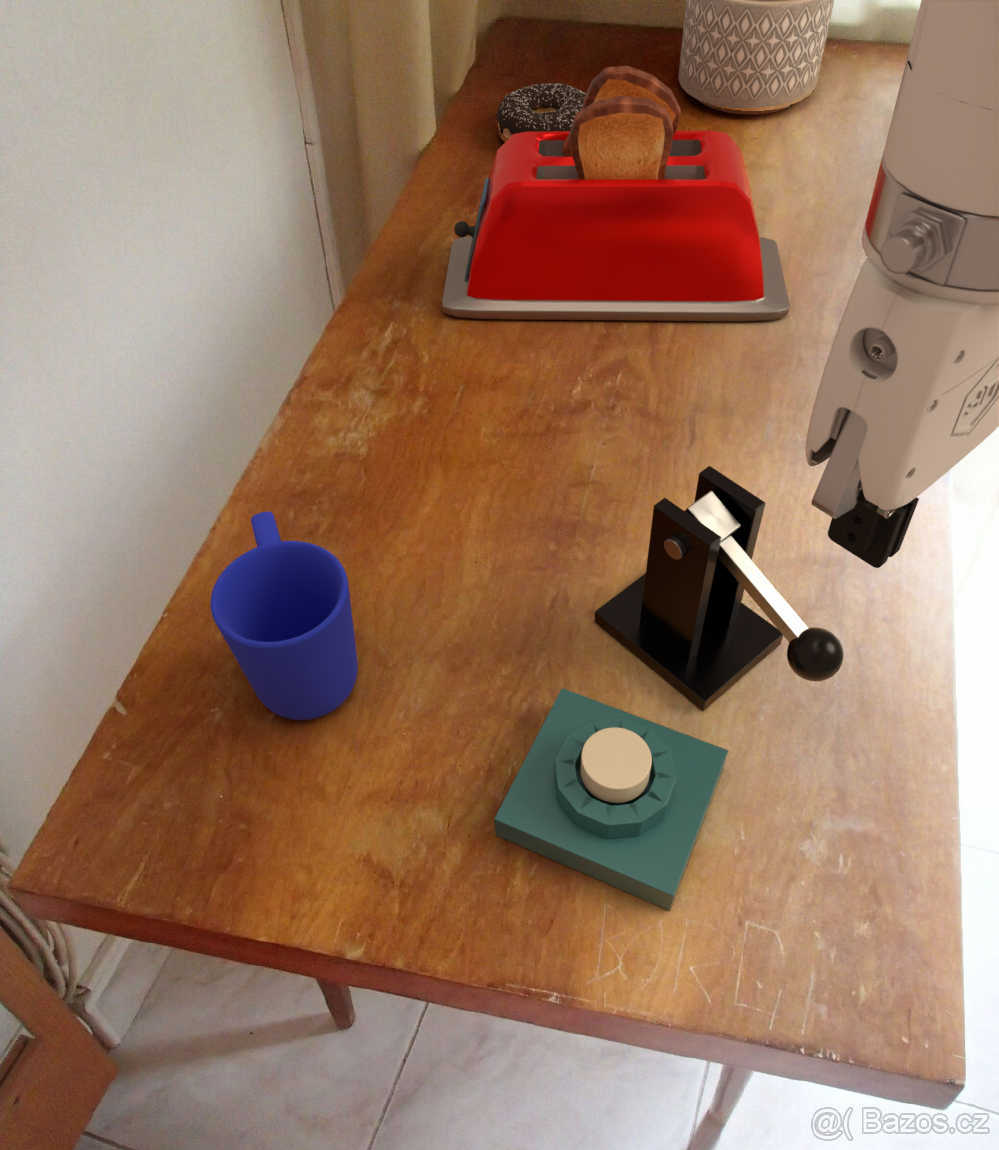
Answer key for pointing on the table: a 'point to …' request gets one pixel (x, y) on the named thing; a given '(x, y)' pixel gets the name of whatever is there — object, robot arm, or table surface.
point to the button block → (612, 830)
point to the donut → (539, 109)
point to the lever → (770, 597)
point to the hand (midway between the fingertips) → (861, 545)
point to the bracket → (693, 600)
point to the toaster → (617, 221)
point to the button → (615, 765)
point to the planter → (752, 51)
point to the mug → (288, 623)
